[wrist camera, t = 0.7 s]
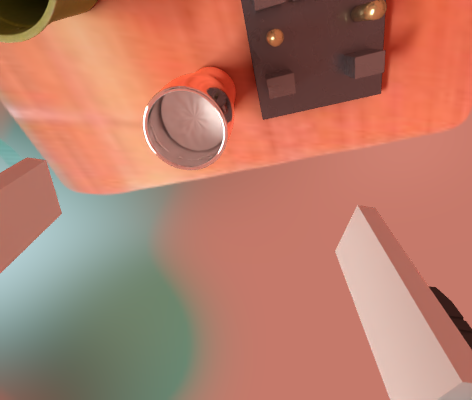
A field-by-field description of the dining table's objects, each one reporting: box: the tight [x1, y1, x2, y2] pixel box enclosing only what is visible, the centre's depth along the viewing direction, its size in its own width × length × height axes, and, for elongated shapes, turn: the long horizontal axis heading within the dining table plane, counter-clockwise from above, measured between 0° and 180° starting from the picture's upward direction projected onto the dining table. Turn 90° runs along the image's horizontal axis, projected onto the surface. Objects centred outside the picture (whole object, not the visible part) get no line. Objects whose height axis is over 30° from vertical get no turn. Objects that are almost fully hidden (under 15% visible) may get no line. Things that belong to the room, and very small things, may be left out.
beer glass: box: [143, 67, 236, 170], centre depth 26 cm, size 7×7×15 cm
